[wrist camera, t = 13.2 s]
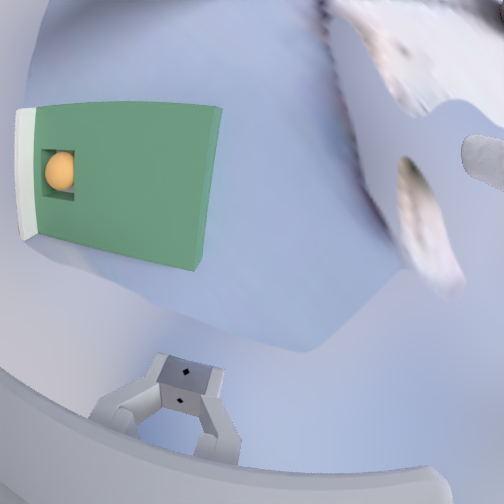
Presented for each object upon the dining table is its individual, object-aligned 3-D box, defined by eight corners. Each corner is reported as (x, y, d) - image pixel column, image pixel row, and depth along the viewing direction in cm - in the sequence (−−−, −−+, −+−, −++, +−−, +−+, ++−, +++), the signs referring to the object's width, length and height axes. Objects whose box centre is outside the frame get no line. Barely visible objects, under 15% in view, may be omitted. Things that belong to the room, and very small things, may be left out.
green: (48, 106, 29) (16, 109, 23) (222, 108, 28) (206, 104, 22) (48, 223, 36) (20, 239, 30) (201, 258, 36) (185, 285, 30)
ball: (39, 152, 26) (72, 139, 30) (43, 180, 30) (73, 166, 33) (50, 176, 26) (86, 160, 29) (54, 203, 30) (86, 188, 33)
